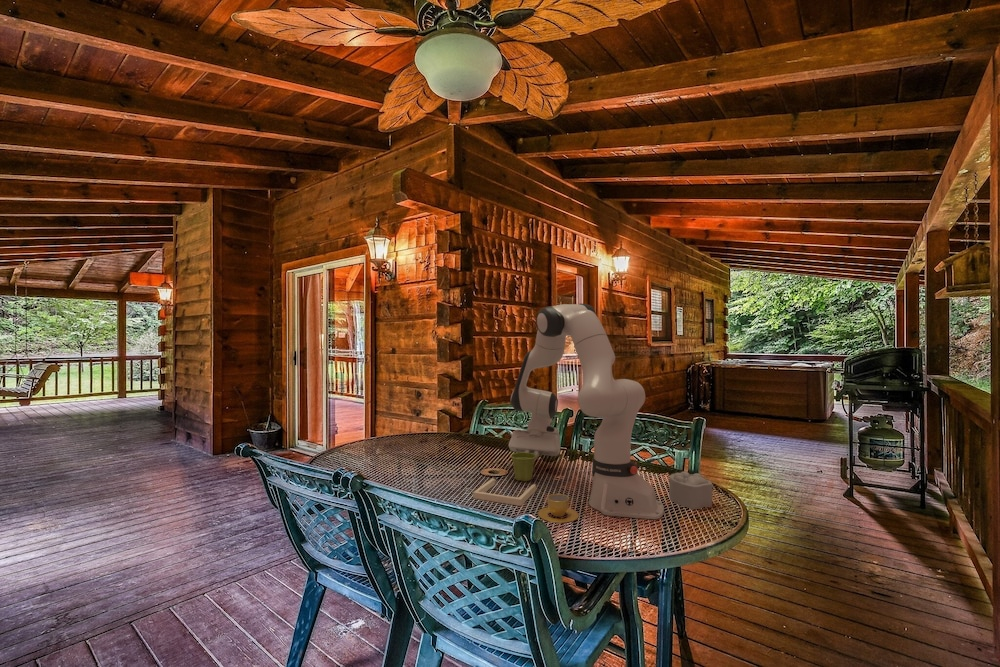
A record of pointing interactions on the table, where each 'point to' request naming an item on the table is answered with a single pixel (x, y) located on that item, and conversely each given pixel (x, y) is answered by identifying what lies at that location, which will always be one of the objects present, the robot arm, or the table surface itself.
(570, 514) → the cup
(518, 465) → the plant pot
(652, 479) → the table surface
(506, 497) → the frame
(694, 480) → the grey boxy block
